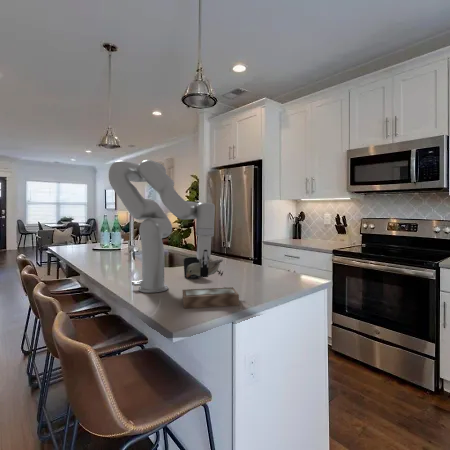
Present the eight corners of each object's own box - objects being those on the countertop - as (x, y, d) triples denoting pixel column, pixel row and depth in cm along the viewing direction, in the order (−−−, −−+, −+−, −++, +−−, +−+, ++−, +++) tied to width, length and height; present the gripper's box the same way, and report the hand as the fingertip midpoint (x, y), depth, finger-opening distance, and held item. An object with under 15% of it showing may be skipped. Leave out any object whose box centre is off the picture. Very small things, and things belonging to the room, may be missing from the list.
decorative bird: (184, 276, 130) (184, 258, 130) (220, 274, 136) (220, 257, 136) (187, 279, 125) (188, 260, 125) (224, 277, 131) (225, 260, 131)
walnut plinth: (183, 308, 111) (183, 296, 111) (182, 299, 122) (182, 289, 122) (238, 305, 114) (238, 294, 114) (232, 297, 125) (232, 286, 125)
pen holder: (180, 278, 161) (180, 259, 160) (190, 275, 169) (190, 256, 169) (195, 280, 157) (195, 260, 156) (205, 276, 165) (205, 257, 164)
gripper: (194, 230, 138) (192, 270, 139) (197, 233, 121) (196, 280, 122) (211, 230, 139) (209, 271, 140) (216, 234, 122) (215, 280, 123)
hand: (203, 274), depth 131 cm, fingers closed on decorative bird, 5 cm apart
